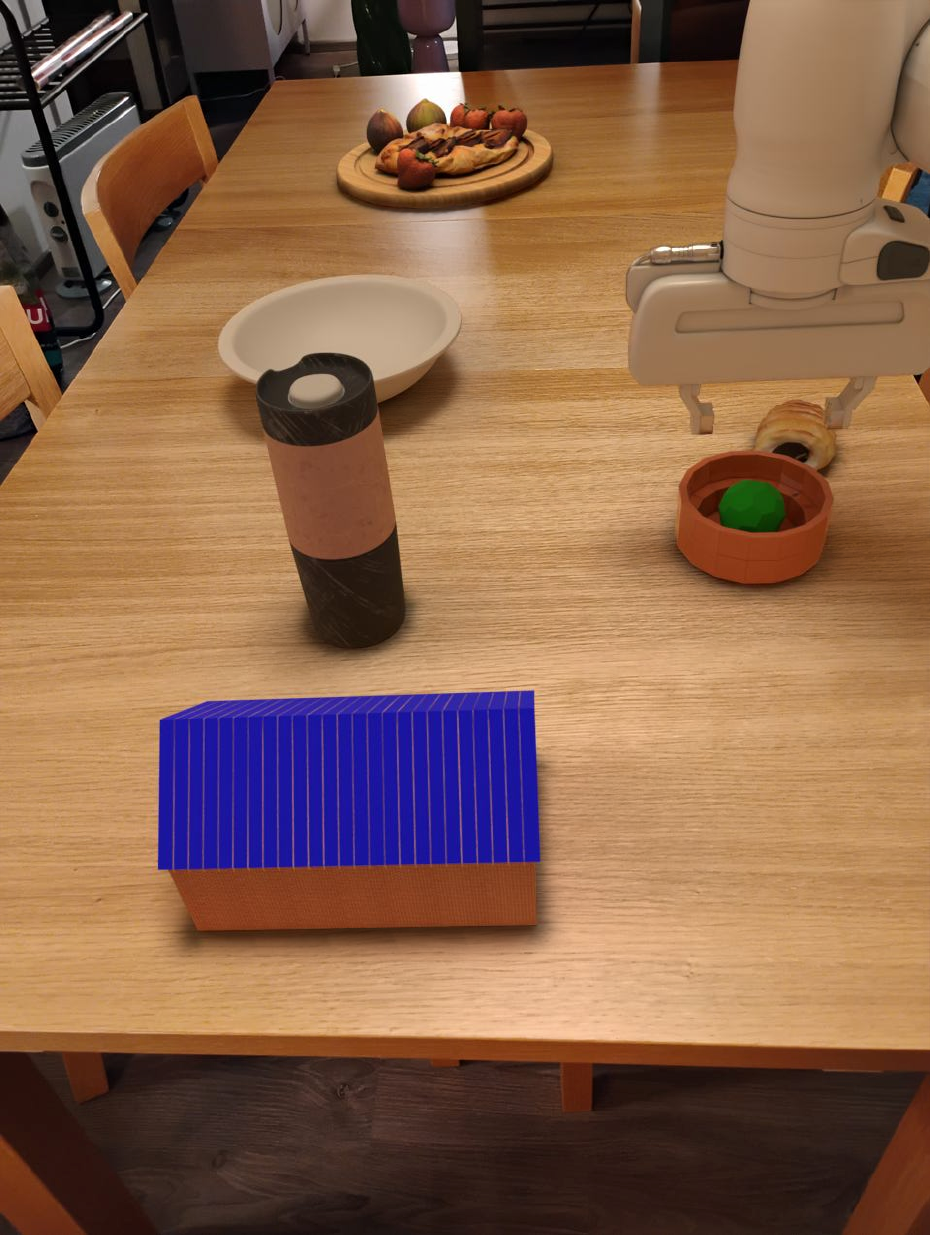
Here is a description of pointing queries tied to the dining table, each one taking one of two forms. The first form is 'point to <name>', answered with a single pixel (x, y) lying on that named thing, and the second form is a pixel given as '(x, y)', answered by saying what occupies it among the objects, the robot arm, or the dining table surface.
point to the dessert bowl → (746, 551)
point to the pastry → (797, 433)
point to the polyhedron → (752, 507)
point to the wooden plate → (444, 157)
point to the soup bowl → (345, 328)
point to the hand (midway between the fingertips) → (767, 428)
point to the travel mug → (335, 495)
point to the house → (352, 811)
